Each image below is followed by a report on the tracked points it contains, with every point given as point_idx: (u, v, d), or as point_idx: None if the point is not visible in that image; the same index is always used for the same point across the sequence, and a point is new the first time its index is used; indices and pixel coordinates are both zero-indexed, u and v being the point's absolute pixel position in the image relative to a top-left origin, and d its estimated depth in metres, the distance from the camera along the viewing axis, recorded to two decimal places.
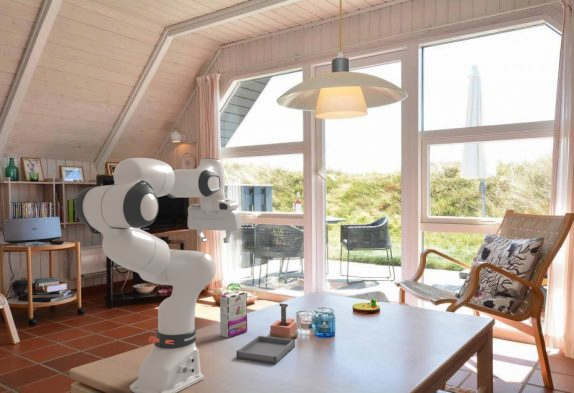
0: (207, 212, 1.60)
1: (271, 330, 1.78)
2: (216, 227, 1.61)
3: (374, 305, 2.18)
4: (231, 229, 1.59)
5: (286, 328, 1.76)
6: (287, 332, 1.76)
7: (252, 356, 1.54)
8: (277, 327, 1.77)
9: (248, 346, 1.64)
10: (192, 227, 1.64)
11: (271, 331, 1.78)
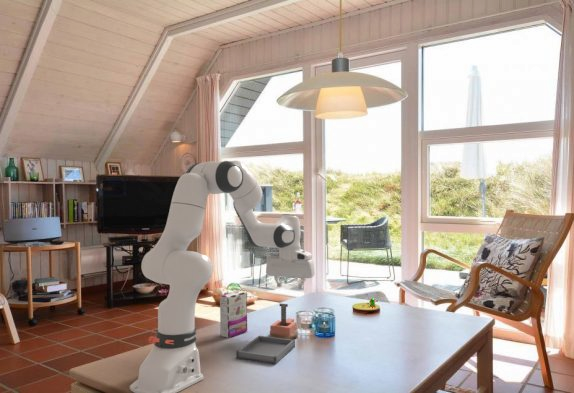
0: (285, 261, 1.85)
1: (271, 330, 1.78)
2: (292, 274, 1.85)
3: (373, 305, 2.18)
4: (306, 276, 1.83)
5: (286, 328, 1.76)
6: (287, 332, 1.76)
7: (252, 356, 1.54)
8: (277, 327, 1.77)
9: (248, 346, 1.64)
10: (270, 273, 1.88)
11: (271, 331, 1.78)
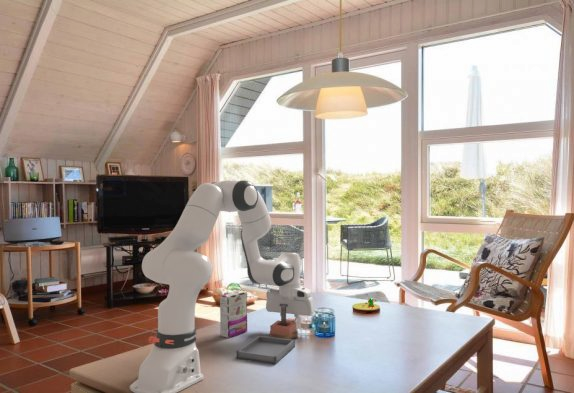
0: (285, 298, 1.85)
1: (271, 330, 1.78)
2: (292, 311, 1.85)
3: (371, 305, 2.19)
4: (306, 314, 1.83)
5: (286, 328, 1.76)
6: (287, 332, 1.76)
7: (252, 356, 1.54)
8: (277, 327, 1.77)
9: (248, 346, 1.64)
10: (270, 310, 1.88)
11: (271, 331, 1.78)
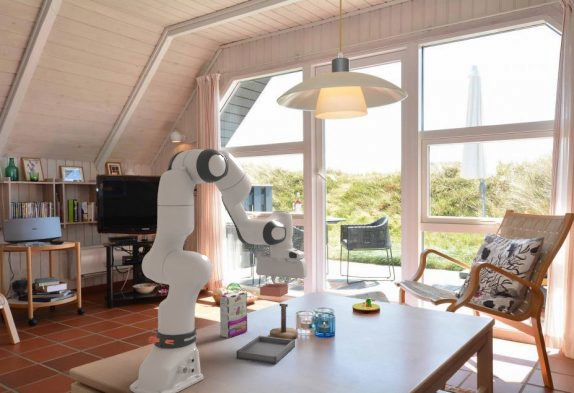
0: (277, 260, 1.75)
1: (261, 292, 1.68)
2: (284, 274, 1.75)
3: (369, 304, 2.19)
4: (298, 276, 1.73)
5: (277, 289, 1.66)
6: (278, 293, 1.66)
7: (252, 356, 1.54)
8: (267, 288, 1.68)
9: (248, 346, 1.64)
10: (260, 273, 1.79)
11: (261, 293, 1.68)
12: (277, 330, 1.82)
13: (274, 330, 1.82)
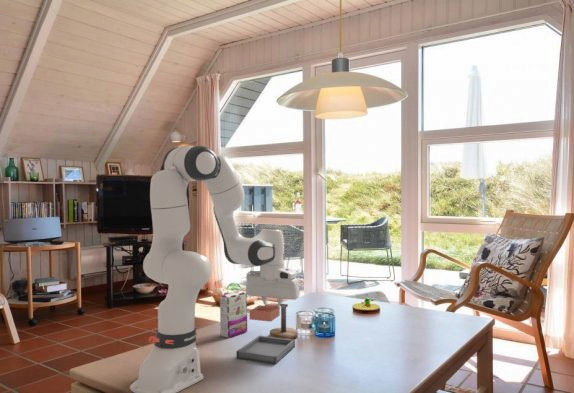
0: (267, 280, 1.64)
1: (250, 316, 1.58)
2: (275, 295, 1.65)
3: (368, 304, 2.19)
4: (290, 298, 1.63)
5: (267, 313, 1.56)
6: (268, 318, 1.56)
7: (252, 356, 1.54)
8: (257, 312, 1.57)
9: (248, 346, 1.64)
10: (250, 294, 1.68)
11: (250, 317, 1.58)
12: (277, 330, 1.82)
13: (274, 330, 1.82)
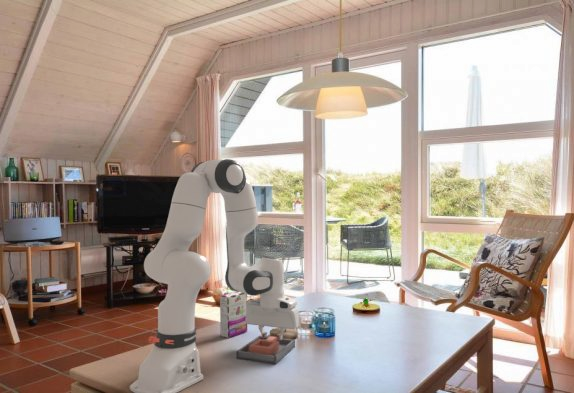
0: (267, 309, 1.64)
1: (250, 351, 1.58)
2: (275, 324, 1.65)
3: (366, 304, 2.20)
4: (290, 327, 1.63)
5: (266, 349, 1.56)
6: (268, 353, 1.56)
7: (252, 356, 1.54)
8: (256, 347, 1.57)
9: (248, 346, 1.64)
10: (250, 322, 1.68)
11: None
12: (277, 330, 1.82)
13: (274, 330, 1.82)
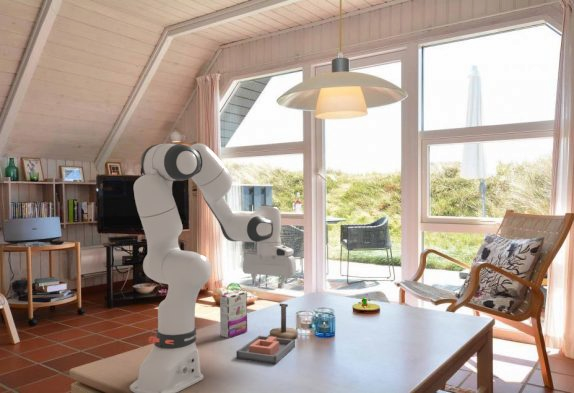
0: (264, 257, 1.65)
1: (250, 351, 1.58)
2: (271, 272, 1.65)
3: (365, 304, 2.20)
4: (287, 275, 1.63)
5: (266, 349, 1.56)
6: (268, 353, 1.56)
7: (252, 356, 1.54)
8: (256, 347, 1.57)
9: (248, 346, 1.64)
10: (247, 271, 1.69)
11: None
12: (277, 330, 1.82)
13: (274, 330, 1.82)
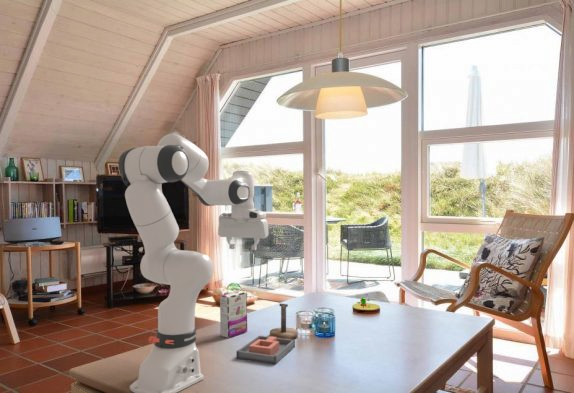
0: (237, 220, 1.73)
1: (250, 351, 1.58)
2: (245, 235, 1.73)
3: (364, 304, 2.20)
4: (259, 236, 1.71)
5: (266, 349, 1.56)
6: (268, 353, 1.56)
7: (252, 356, 1.54)
8: (256, 347, 1.57)
9: (248, 346, 1.64)
10: (222, 234, 1.77)
11: None
12: (277, 330, 1.82)
13: (274, 330, 1.82)
